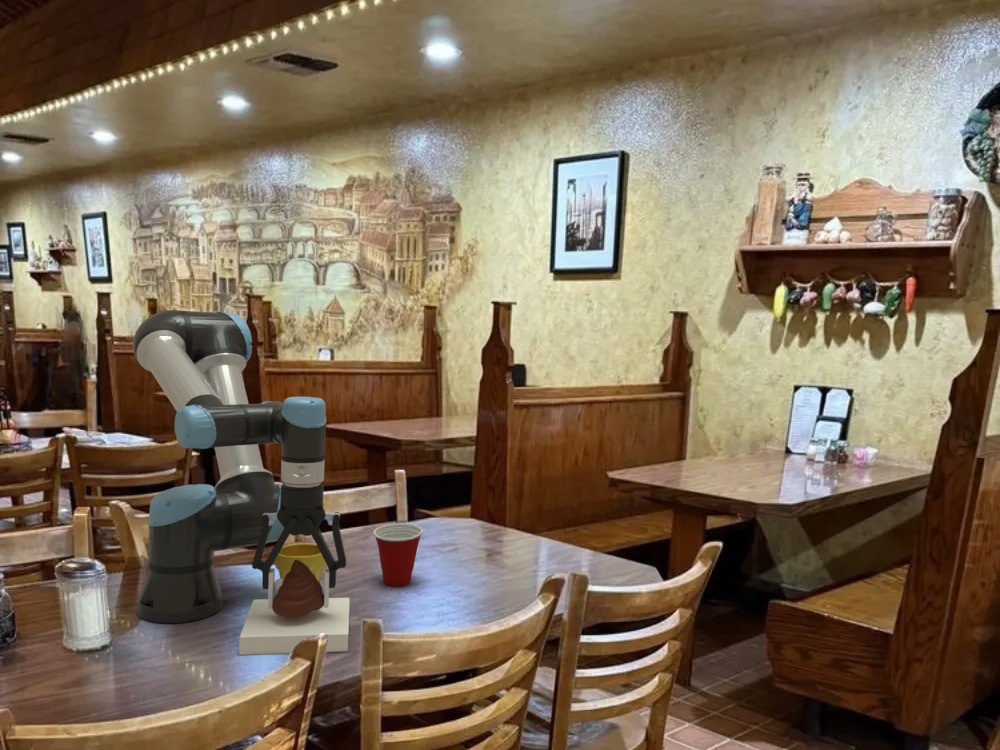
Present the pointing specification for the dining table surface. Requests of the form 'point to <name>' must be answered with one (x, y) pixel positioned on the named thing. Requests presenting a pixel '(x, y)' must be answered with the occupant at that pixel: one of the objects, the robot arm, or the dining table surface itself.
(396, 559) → the plastic cup
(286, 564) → the plant pot
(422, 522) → the dining table surface
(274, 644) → the base board
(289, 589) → the poop emoji
